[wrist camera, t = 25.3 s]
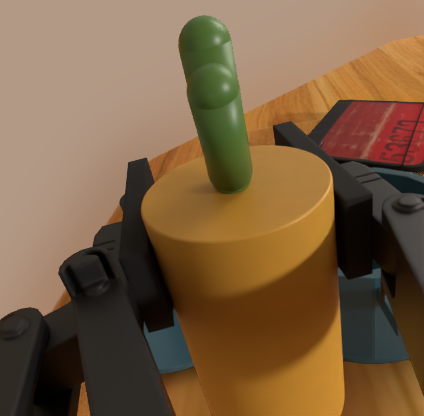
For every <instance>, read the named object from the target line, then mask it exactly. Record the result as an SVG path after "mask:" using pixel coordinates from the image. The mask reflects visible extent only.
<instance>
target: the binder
mask: <svg viewBox="0 0 424 416" xmlns="http://www.w3.org/2000/svg"><path fill="white" fill-rule="evenodd" d="M308 137H309V138H311V139H312V140H313V141H314V142H315V143H316V144H317V145H318V146H320V147H321V148H322V149H323V150H324V151H325V152H326V153H327V154H329V155H330V156H331V157H332V158H333V159H334V160H335V161H337V162H338V163H339V164H343V163H347V162H351V161H354V162H358V163H361V164H364V165H366V166H368V167H369V168H385V169H391V170H398V171H405V172H421V171H424V103H423V102H399V101H367V100H339V101H338V102H337V103H336V104H335V105H334V106H333V107H332V109H331V110H330V111H329V112H328V113H327V114H326V115H325V117H324V118H323V119H322V120H321V121H320V122H319V124H318V125H317V126H316V127H315V128H314V129H313V130H312V132H311V133H310V134H309V135H308Z"/></svg>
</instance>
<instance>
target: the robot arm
mask: <svg viewBox="0 0 424 416" xmlns="http://www.w3.org/2000/svg"><path fill="white" fill-rule="evenodd" d="M273 130H274V138H275V146H286V147H292V148H297V149H300V150H304V151H307V152H309V153H312V154H314V155H315V156H317V157H319V158H320V159H321V160H323V161H324V162H325V163H326V164H327V166H328V167H329V169H330V171H331V173H332V177H333V191H334V209H335V227H336V246H337V264H338V267H339V268H340V270H341V271H342V273H343V274H344V276H345V277H346V278H347V280H351V279H354V278H358V277H362V276H366V275H369V274H373V259H374V260H375V261H376V262H377V263H378V265H379V266H380V267H381V286H380V298H381V301H385V294H386V296H387V299H388V301H389V304H390V307H391V310H392V312H393V315H394V318H395V320H396V323H397V326H398V328H399V331H400V334H401V336H402V339H403V342H404V345H405V347H406V350H407V353H408V355H409V358H410V361H411V363H412V366H413V369H414V372H415V374H416V377H417V380H418V382H419V385H420V388H421V390H422V393H423V396H424V195H421V194H414V193H401V192H400V191H398V190H397V189H396V188H394V187H393V186H392V185H391V184H389V183H388V182H387V181H386V180H384V179H382V178H381V177H380V176H379V175H378V174H377V173H375V172H374V171H373V170H371V169H370V168H369V167H368V166H366V165H364V164H361V163H358V162H354V161H351V162H347V163H343V164H339V163H338V162H337V161H335V160H334V159H333V158H332V157H331V156H330V155H329V154H327V153H326V152H325V151H324V150H323V149H322V148H321V147H320V146H318V145H317V144H316V143H315V142H314V141H313V140H312V139H311V138H309V137H308V136H307V135H306V134H305V133H304V132H303V131H301V130H300V129H299V128H298V127H297V126H296V125H295V124H294V123H292V122H291V121H290V122H286V123H282V124H278V125H274V126H273ZM154 183H155V182H154V179H153V176H152V173H151V169H150V166H149V163H148V160H147V158H143V159H139V160H135V161H131V162H129V163H128V170H127V180H126V190H125V200H124V210H123V220H122V222H118V223H114V224H110V225H106V226H102V228H101V229H100V230H99V231H98V233H97V234H96V235H95V237H94V242H93V247H90V248H87V249H84V250H81V251H79V252H77V253H75V254H73V255H72V256H70V257H69V258H68V259H66V260H65V261H64V262H63V264H62V265H61V266H60V268H59V273H58V274H59V276H60V278H61V280H62V282H63V283H64V285H65V287H66V289H67V291H68V293H69V295H70V297H71V302H69V303H68V304H67V305H65V306H63V307H61V308H59V309H57V310H55V311H53V312H51V313H49V314H47V315H45V316H42V314H41V313H40V312H39V310H38V309H35V308H23V309H19V310H17V311H14V312H12V313H10V314H8V315H7V316H5V317H3V318H2V319H1V320H0V416H77V411H78V403H79V396H80V389H81V383H83V382H84V381H85V385H86V391H87V397H88V403H89V409H90V415H91V416H176V415H175V412H174V409H173V407H172V404H171V401H170V399H169V396H168V394H167V391H166V388H165V386H164V383H163V381H162V378H161V375H160V373H159V370H158V367H157V365H156V362H155V360H154V357H153V354H152V352H151V349H150V347H149V344H148V341H147V339H146V337H145V334H144V322H145V325H146V327H147V330H148V332H149V333H151V332H155V331H158V330H162V329H166V328H170V327H173V326H174V316H173V304H172V301H171V298H170V296H169V293H168V290H167V287H166V284H165V281H164V279H163V276H162V273H161V270H160V267H159V264H158V262H157V259H156V256H155V253H154V250H153V247H152V244H151V242H150V239H149V236H148V233H147V230H146V227H145V225H144V222H143V219H142V215H141V205H142V201H143V198H144V196H145V194H146V193H147V191H148V190H149V189H150V187H151V186H152V185H153V184H154Z"/></svg>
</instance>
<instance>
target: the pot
mask: <svg viewBox="0 0 424 416" xmlns="http://www.w3.org/2000/svg"><path fill="white" fill-rule="evenodd" d="M370 169H371V170H373V171H374V172H375V173H377V174H378V175H379V176H380V177H381V178H382V179H384V180H386V181H387V182H388V183H389V184H391V185H392V186H393V187H394V188H396V189H397V190H398V191H400V192H401V193H414V194H421V195H424V177H423V176H421V175H418V174H415V173H411V172H405V171H398V170H391V169H385V168H370ZM338 282H339V300H340V319H341V337H342V355H343V360H345V361H350V362H357V363H366V364H382V363H391V362H398V361H402V360H407V359H410V358H409V355H408V353H407V350H406V347H405V345H404V342H403V339H402V336H401V334H400V331H399V328H398V326H397V323H396V320H395V318H394V315H393V312H392V310H391V307H390V304H389V301H388V299H387V296H386V294H385V301H381V298H380V286H381V267H380V266H379V265H378V263H377V262H376V261H375V260H374V259H373V274H369V275H366V276H362V277H358V278H354V279H351V280H347V278H346V277H345V276H344V274H343V273H342V271H341V270H340V268H339V267H338Z"/></svg>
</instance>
